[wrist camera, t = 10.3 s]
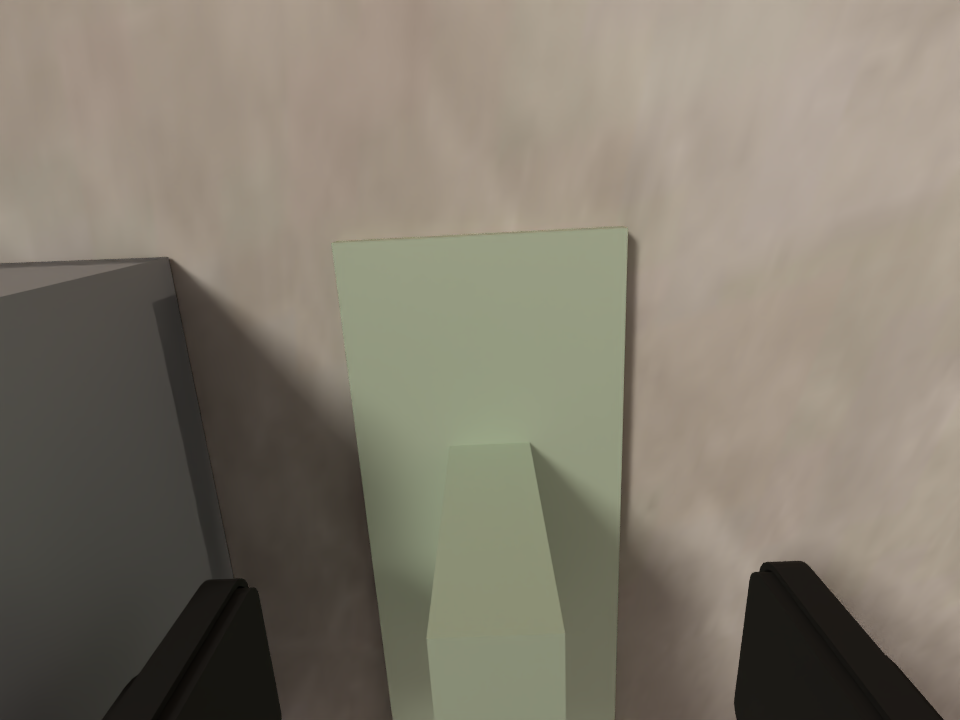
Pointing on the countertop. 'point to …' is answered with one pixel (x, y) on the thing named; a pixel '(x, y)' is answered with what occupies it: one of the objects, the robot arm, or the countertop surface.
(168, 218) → the countertop surface
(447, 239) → the end lid
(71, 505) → the grey flat box
